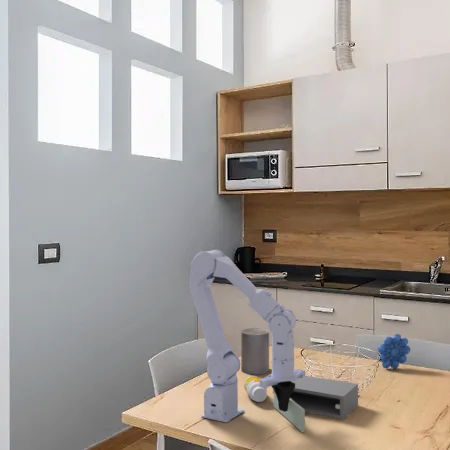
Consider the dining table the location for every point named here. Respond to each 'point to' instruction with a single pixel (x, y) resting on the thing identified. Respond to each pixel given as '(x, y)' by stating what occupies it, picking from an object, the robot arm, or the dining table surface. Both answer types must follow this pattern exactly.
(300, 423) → the door
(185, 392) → the dining table surface
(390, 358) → the blue flower shape
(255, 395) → the supplement bottle
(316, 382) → the cabinet
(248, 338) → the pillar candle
